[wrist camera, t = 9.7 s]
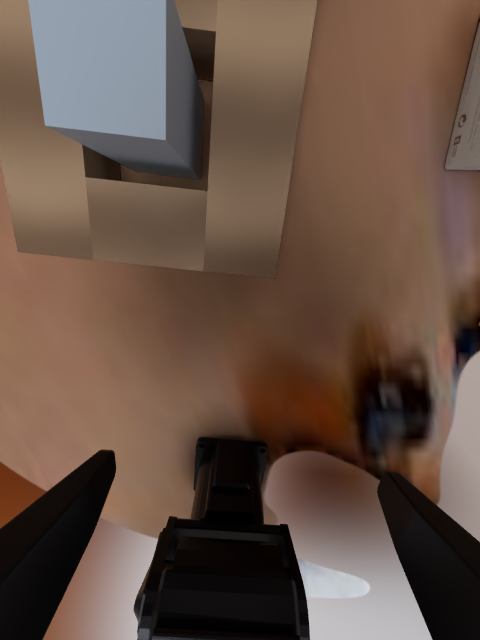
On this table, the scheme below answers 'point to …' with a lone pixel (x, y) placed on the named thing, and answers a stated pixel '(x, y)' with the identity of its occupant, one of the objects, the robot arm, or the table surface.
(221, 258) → the socket block
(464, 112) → the supplement box
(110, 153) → the peg
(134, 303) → the table surface
